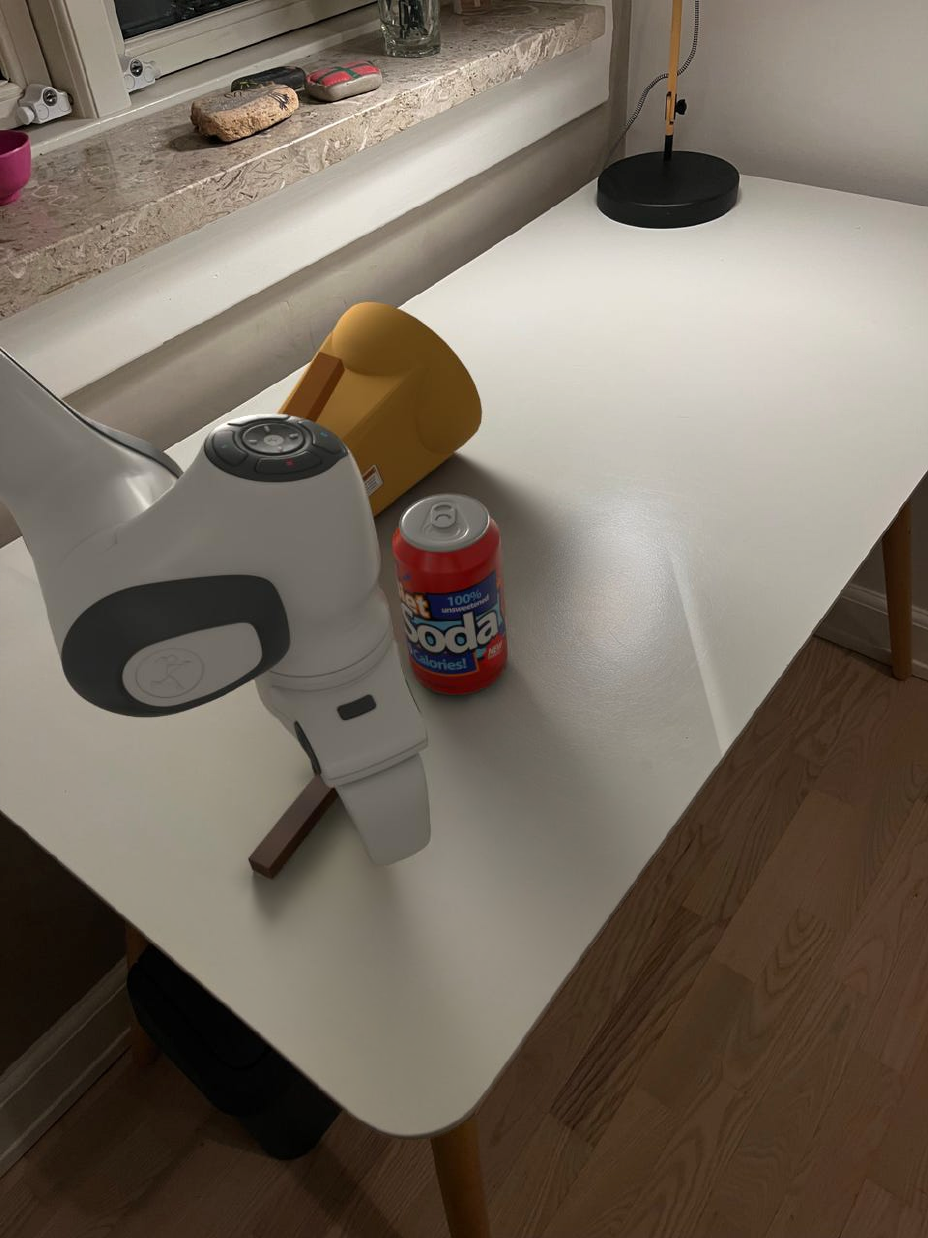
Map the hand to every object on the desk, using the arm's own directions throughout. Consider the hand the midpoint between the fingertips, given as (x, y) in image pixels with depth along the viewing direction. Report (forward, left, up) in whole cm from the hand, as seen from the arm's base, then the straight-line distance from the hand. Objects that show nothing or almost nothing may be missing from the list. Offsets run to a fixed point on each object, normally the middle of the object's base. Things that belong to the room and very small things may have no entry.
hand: (356, 794), depth 72 cm
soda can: (+12, +9, -2) cm, 15 cm away
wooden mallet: (-2, +2, -2) cm, 3 cm away
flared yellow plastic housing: (+14, +35, -2) cm, 38 cm away
